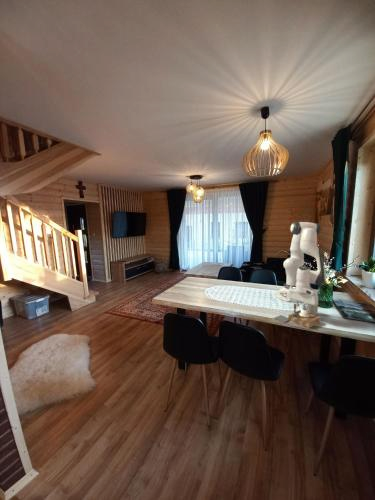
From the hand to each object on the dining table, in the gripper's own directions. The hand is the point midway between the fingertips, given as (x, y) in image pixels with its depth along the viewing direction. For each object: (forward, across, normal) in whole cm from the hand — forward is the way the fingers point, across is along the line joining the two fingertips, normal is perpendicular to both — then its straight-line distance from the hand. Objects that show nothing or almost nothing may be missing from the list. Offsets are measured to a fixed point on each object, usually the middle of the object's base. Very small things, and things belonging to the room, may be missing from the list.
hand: (301, 307), depth 147 cm
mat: (+7, -5, -14) cm, 17 cm away
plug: (+7, +5, -6) cm, 10 cm away
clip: (+2, -1, -6) cm, 7 cm away
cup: (+7, 0, +11) cm, 13 cm away
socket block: (+7, +5, -6) cm, 10 cm away
